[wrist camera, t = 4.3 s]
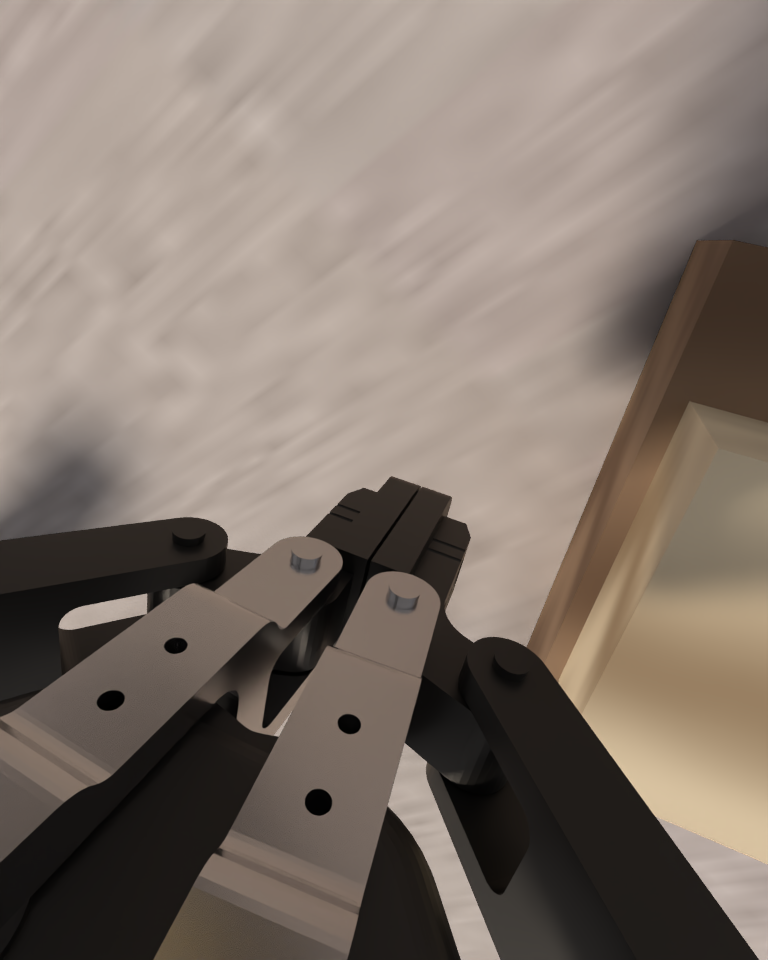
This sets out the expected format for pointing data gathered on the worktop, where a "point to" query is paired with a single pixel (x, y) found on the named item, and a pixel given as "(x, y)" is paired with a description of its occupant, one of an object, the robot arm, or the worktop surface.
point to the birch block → (689, 637)
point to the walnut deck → (665, 419)
